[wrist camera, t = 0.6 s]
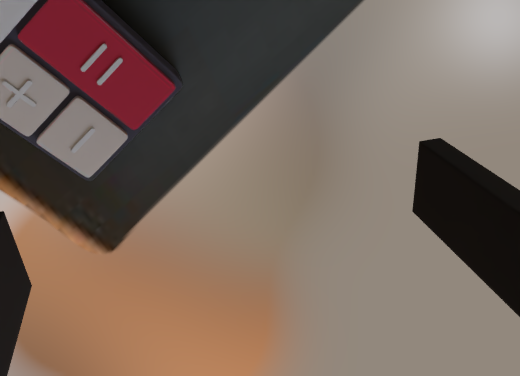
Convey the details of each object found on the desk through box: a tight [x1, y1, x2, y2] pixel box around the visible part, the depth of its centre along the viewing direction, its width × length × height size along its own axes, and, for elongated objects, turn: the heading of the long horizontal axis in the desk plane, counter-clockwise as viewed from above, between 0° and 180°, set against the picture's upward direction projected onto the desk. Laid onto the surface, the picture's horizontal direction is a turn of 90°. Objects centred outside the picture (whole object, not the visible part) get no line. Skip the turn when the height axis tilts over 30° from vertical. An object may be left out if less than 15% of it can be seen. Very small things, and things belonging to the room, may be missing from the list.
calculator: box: [0, 0, 183, 181], centre depth 34 cm, size 11×4×15 cm
